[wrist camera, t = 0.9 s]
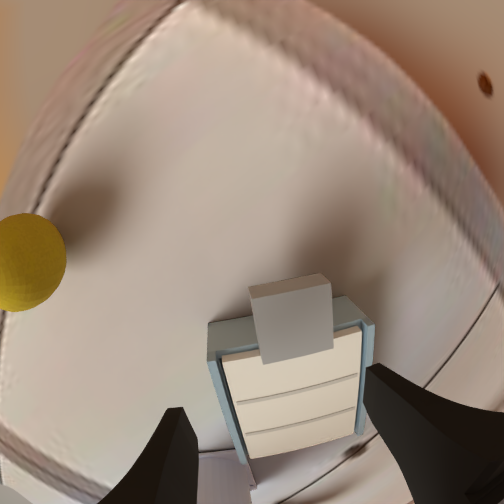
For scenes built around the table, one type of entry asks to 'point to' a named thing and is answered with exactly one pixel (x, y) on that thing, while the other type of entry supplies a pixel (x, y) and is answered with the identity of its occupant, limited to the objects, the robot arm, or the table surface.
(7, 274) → the lemon
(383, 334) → the table surface
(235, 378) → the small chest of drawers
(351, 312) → the tub
